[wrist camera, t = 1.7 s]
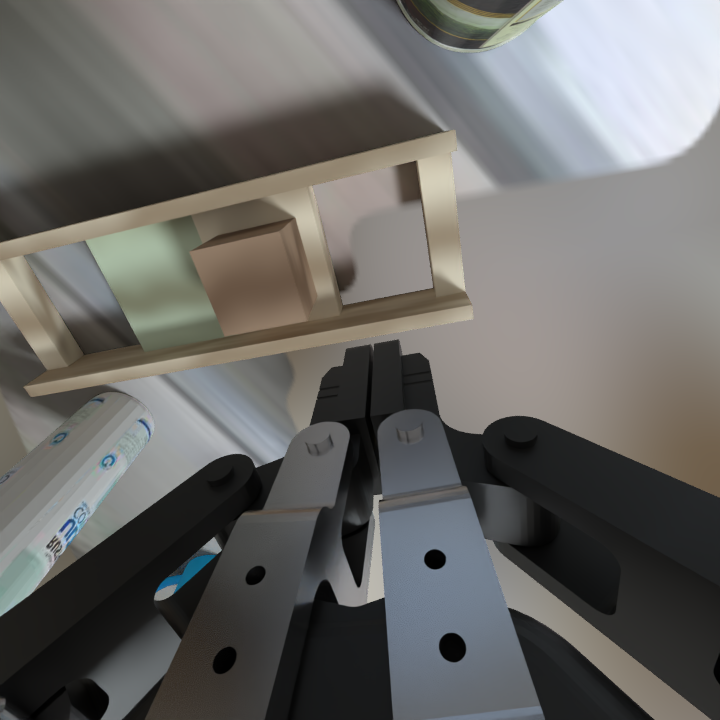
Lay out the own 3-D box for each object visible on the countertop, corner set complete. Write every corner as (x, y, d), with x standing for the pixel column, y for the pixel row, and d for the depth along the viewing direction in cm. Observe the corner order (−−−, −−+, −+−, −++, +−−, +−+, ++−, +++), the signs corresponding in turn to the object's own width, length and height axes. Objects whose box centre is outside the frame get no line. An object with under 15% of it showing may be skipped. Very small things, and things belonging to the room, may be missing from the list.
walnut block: (217, 235, 27) (189, 251, 23) (295, 217, 26) (279, 231, 22) (246, 310, 30) (224, 336, 26) (317, 296, 29) (306, 321, 25)
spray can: (99, 377, 36) (-176, 606, 18) (167, 413, 37) (-26, 657, 20) (78, 423, 38) (-178, 662, 21) (143, 455, 40) (-46, 702, 22)
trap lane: (-10, 244, 30) (-69, 260, 26) (444, 131, 25) (455, 129, 21) (70, 368, 35) (30, 397, 31) (461, 295, 30) (473, 319, 26)
